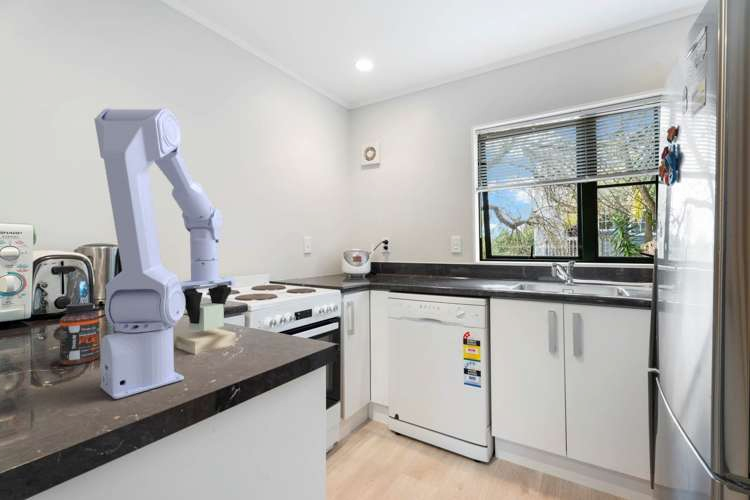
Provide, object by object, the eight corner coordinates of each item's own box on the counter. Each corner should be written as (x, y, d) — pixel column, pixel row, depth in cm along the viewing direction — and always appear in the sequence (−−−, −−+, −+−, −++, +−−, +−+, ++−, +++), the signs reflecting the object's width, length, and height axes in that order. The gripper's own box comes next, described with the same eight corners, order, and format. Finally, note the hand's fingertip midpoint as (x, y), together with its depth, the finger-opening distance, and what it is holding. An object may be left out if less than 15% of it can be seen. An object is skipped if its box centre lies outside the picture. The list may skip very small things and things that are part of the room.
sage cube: (204, 331, 73) (203, 307, 73) (189, 328, 76) (188, 306, 76) (223, 326, 78) (223, 304, 78) (209, 324, 80) (208, 302, 80)
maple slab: (195, 356, 71) (195, 341, 71) (176, 349, 76) (176, 335, 76) (236, 346, 78) (235, 333, 78) (216, 340, 83) (216, 328, 83)
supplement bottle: (82, 366, 64) (80, 306, 64) (51, 366, 65) (49, 306, 65) (107, 356, 70) (106, 301, 70) (79, 356, 71) (77, 301, 71)
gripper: (185, 261, 69) (186, 329, 69) (243, 259, 81) (244, 316, 82) (164, 261, 72) (165, 326, 72) (223, 259, 85) (224, 314, 85)
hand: (206, 320), depth 77 cm, fingers closed on sage cube, 5 cm apart
